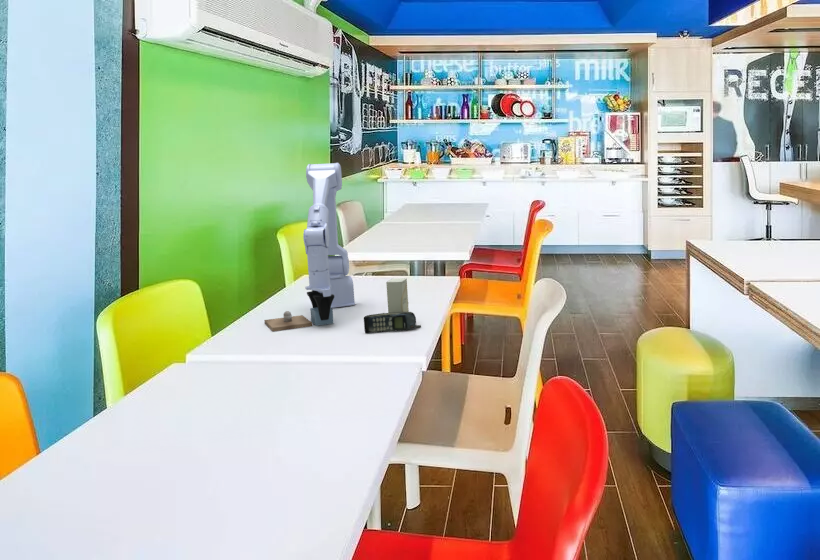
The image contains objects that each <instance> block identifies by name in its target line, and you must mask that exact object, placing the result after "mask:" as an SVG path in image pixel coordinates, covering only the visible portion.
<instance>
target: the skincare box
mask: <svg viewBox="0 0 820 560" xmlns="http://www.w3.org/2000/svg"><path fill="white" fill-rule="evenodd" d="M385 284H386V297H387V313H392V312H410V311H409V310H410V309H409V297H408V280H407V277H406V278H405V277H404V278H403V277H402V278H401V277H400V278H398V277H397V278H394V277H393V278H391V279H389V280H387V281H386V283H385Z"/></svg>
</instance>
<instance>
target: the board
mask: <svg viewBox="0 0 820 560" xmlns="http://www.w3.org/2000/svg"><path fill="white" fill-rule="evenodd" d="M264 324H265V325H266V327H268V328H269V329H270V330H271V331H272V332H280V331H286V330H293V329H302V328H309V327H313V323H312V322H311V320H309V319H308V318H307V317H305V316H304V315H302V314H301V315H295V316H294V315H292V312H291V311H289V310H285V311H284V312H283V317H278V318H270V319H264Z"/></svg>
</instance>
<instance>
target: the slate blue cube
mask: <svg viewBox="0 0 820 560" xmlns="http://www.w3.org/2000/svg"><path fill="white" fill-rule="evenodd" d="M310 321H311V322H312V325H315V326H316V327H317V326H323V325H324V326H325V325H330V324H334V314H333V308H330V314H329V319H328V320H321V319H320V316H319V311H318V307H317V308H313V307H310Z"/></svg>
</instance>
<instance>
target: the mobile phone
mask: <svg viewBox="0 0 820 560" xmlns="http://www.w3.org/2000/svg"><path fill="white" fill-rule="evenodd" d="M363 327H364V333H365V334H375V333H377V334H378V333H387V332H389V333H390V332H404V331H408V330H412V329H419V328H422V325H421V324H418V325H417V318H416V315H415V313H414V312H412V311H409V312H392V313H388V312H381V313H373V314H369V315H365V316H364V317H363Z"/></svg>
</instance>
